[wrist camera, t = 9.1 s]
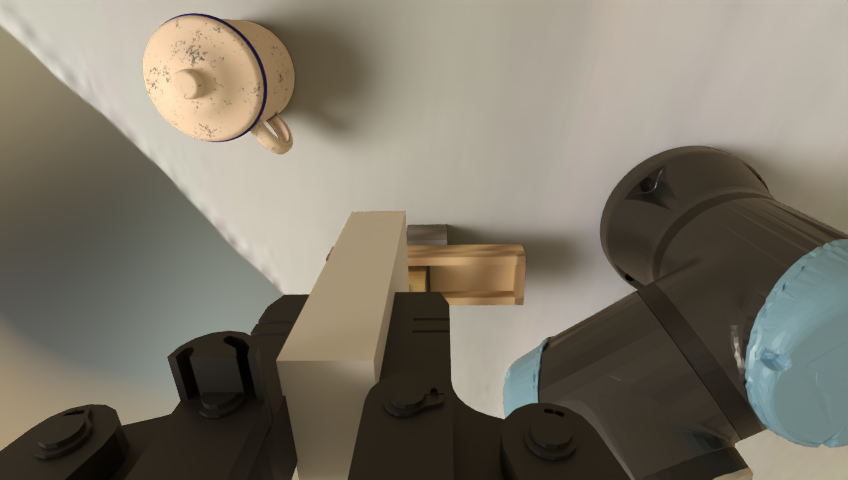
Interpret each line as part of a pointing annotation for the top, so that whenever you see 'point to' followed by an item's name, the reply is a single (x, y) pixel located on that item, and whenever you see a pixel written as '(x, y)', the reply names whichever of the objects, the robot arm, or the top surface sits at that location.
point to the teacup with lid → (220, 79)
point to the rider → (417, 278)
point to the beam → (467, 268)
